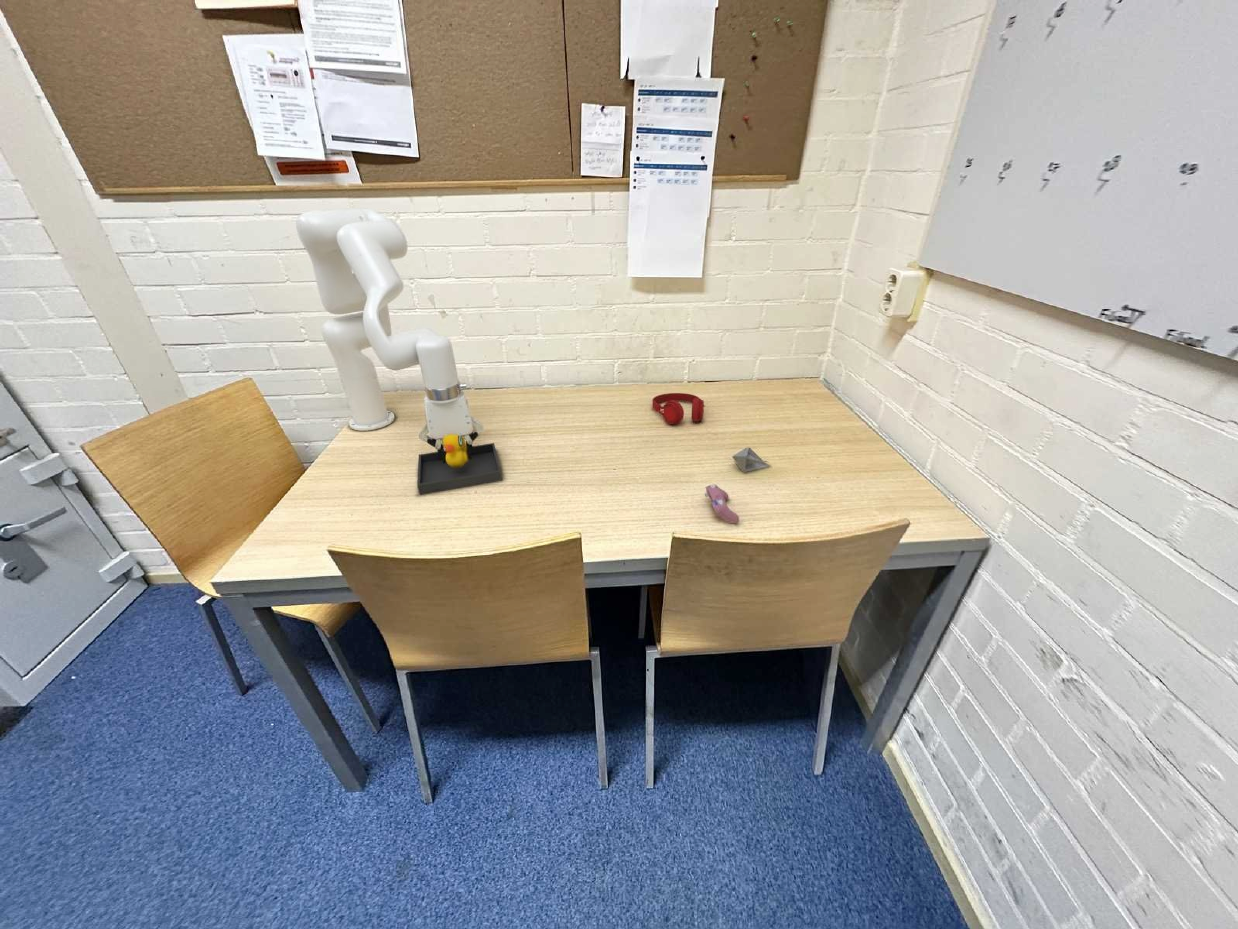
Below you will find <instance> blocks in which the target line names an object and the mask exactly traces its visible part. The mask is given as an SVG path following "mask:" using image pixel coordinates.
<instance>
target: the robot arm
mask: <svg viewBox="0 0 1238 929" xmlns="http://www.w3.org/2000/svg"><path fill="white" fill-rule="evenodd" d="M296 231H297V236H298V238H299V240H300V242H301V244H302V246H303V247H304V249H305V251H306V252H307V255H308V256H309V259H310V260H311V264H312V269H313V272H314V277H315V281H316V286H317V290H318V294H319V298H320V301H321V304H322V306H323V308H324V309H325V311H326V312H328V313H329V314H332V315H340V316H336V317H333V318H330V319H328V320H327V321H325V322H324V323H323V324H322V326H321V336H322V338H323V340H324V343H325V344H326V346H327V348H328V350H329V352H330V354H331V356H332V359H333V361H334V363H335V366H336V369H337V373H338V375H339V378H340V381H341V384H342V387H343V388H342V389H343V391H344V394H345V397H346V400H347V403H348V406H349V410H350V412H351V415H352V418H350V419H349V421H348V426H349V428H351V429H352V430H354V431H358V432H359V431H361V432H365V431H367V432H368V431H373V430H378V429H382V428H384V427H386V426H388V425H390V424H392V423H393V422H394V420H395V414H394V413H393V411H390V410H388V409H387V404H386V402H385V398H384V394H383V391H382V387H381V383H380V380H379V376H378V372H377V369H376V365H375V364H374V362H373V361H372V360H371V358H370V357H368V356H367V355H365V354H364V353H362V350H365V349H368V348H372V349H373V351H374V353H375V355H376V357H377V358H378V359H379V361H380V362H381V364H382V365H383V366H384V367H385V368H386V369H388V370H390V371H401V370H404V369H408V368H411V367H414V366H415V367H416V366H418V365H419V368H420V373H421V376H422V380H423V386H424V391H425V394H426V395H425V396H424V399H423V403H424V404H423V405H424V406H423V407H424V413H425V420H426V424H425V425H424V427H423V428H422V430H420V433H419V434H418V439H419V440H421V441H423V442H425V443H427V444H428V445H430V446H432V447H433V448H435V450H437V451H436V452H438V455H439V459H442V461H443V463H446V458H445V448H444V446H443V444H442V438H444V437H445V436H447V435H451V434H455V435H458V436H463V438H464V440H465V443H466V447H467V452H468V457H469V459H472V457H471V454H474V451H473V446H474V445H473V443H474V442H475V440H476V439H477V438H478V437H479V435H480V434H481V433H482V432H483V431H484V429H485V428H484V425H483V424H482V423H481V422H479V421H478V420H476V419H475V418H474V417H472V414H471V410H470V409H471V408H470V406H469V402H468V399H467V396H466V394H465V392H464V390H467V384H466V383H462V382H461V381H459V375H458V371H457V365H456V361H455V360H456V359H455V354H454V349H453V345H452V342H451V340H450V338H448V337H447V336H444V335H441V334H438V333H437V332H436V331H435V330H433V329H432V328H429V327H421V328H417V329H414V330H413V329H412V330H408V331H404V332H403V331H402V332H399V333H395V334H392V325H391V317H390V311H389V310H390V309H389V304H390V303H391V302H392V301H394V300H395V299H397V298H398V297H399V296H400V295H401V293H402V292H403V291H404V287H405V286H404V285H405V284H404V281H403V279H402V278H401V276H400V274H399V273H398V270H397V269H396V267H395V265H394V264H393V262H392V260H397V259H403V258H404V257H405V256H407V253H408V241H407V238H406V235H405V233H404V232H403V230H402V228H400V226H399V225H398V224H397V223H396V222H395V221H393V220H392V219H391V218H389V217H388V216H386V215H384V214H381V213H380V212H378V211H375V210H373V209H371V208H368V207H367V208H366V207H353V208H333V209H320V210H319V209H318V210H310V211H306V212H303V213H300V214H299V215H298V216H297V219H296ZM473 426H474V427H475V428H476V429H475V430H474V431H473ZM472 431H473V432H472ZM470 433H471V434H470Z"/></svg>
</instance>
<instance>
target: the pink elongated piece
mask: <svg viewBox="0 0 1238 929" xmlns="http://www.w3.org/2000/svg"><path fill="white" fill-rule="evenodd" d="M704 496H705V498H709V499H710V500H711V505H712V509H713V511H714V514H715V515H716V516H717V517H718V518H720V519H721V520H723V521H725V522H727V523H729V524H737V523H738V522H739V521H740V516H739V515H738V513H736V512H734V511H732V510H731V509H730V508H729V507H728V505H727V502H726V501H728V499H729V494H728V492H727V491H725V490H723V489H722V488H720V487H719V486H718V485H717V484H715V483H714V484H709V485H707V486H705V492H704Z"/></svg>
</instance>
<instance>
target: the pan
mask: <svg viewBox="0 0 1238 929" xmlns="http://www.w3.org/2000/svg"><path fill="white" fill-rule="evenodd" d="M472 446H473V451H474V454H471V457H472V459H469V457H468V462H465V464H464V465H463V466H462V467H460V468H453V467H451V466H449V465H448V464H447V462H446V463H443V461H442V459H439V455H438V451H433V452H426V453H421V454H418V458H417V459H418V461H417V462H418V463H417V483H416V486H417V489H418V494H419V495H420V496H421V495H428V494H433V493H438V492H443V491H450V490H456V489H461V488H467V487H472V486H478V485H484V484H490V483H494V482H500V481H501V482H502V481H503V476H502V471H501V467H500V462H499V458H498V453H497V448H496V445H495V442H490V443H484V444H478V445H472ZM444 451H445V450H444ZM445 455H446V451H445Z"/></svg>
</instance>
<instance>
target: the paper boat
mask: <svg viewBox="0 0 1238 929" xmlns="http://www.w3.org/2000/svg"><path fill="white" fill-rule="evenodd" d="M731 458H732V459H733V460H734V462H735V463H736V465H737V467H738V468H739V469H740V471H741V472H743V473H748V472H752V471H755V470H759V469H764V468H767V467H769V464H767V463H769V461H767V460H763V459H762V458H761V457H760V455H758V454H757V453H756V452H755V451H754V450H753V449H752V448H751V447H750V446H749V447H745V448H743V449H742V450H740V451H738V452H736V453H735V454H733V455H732V456H731Z"/></svg>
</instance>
